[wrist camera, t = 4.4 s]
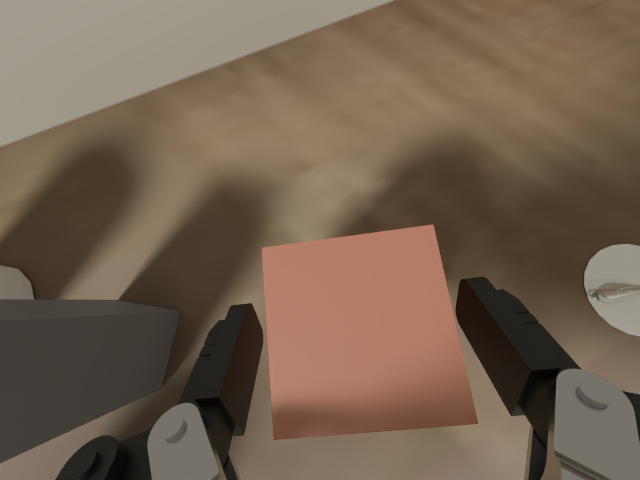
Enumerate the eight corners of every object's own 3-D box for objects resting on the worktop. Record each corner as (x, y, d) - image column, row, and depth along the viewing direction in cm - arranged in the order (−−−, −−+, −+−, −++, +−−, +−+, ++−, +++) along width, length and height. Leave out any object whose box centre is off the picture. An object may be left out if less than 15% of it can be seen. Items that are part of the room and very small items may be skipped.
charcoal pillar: (95, 373, 16) (-230, 466, 7) (117, 300, 17) (-145, 298, 8) (161, 388, 16) (-101, 510, 7) (180, 310, 17) (-25, 322, 7)
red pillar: (319, 356, 15) (273, 439, 6) (310, 278, 16) (262, 247, 7) (398, 348, 15) (478, 423, 6) (384, 268, 16) (433, 224, 7)
